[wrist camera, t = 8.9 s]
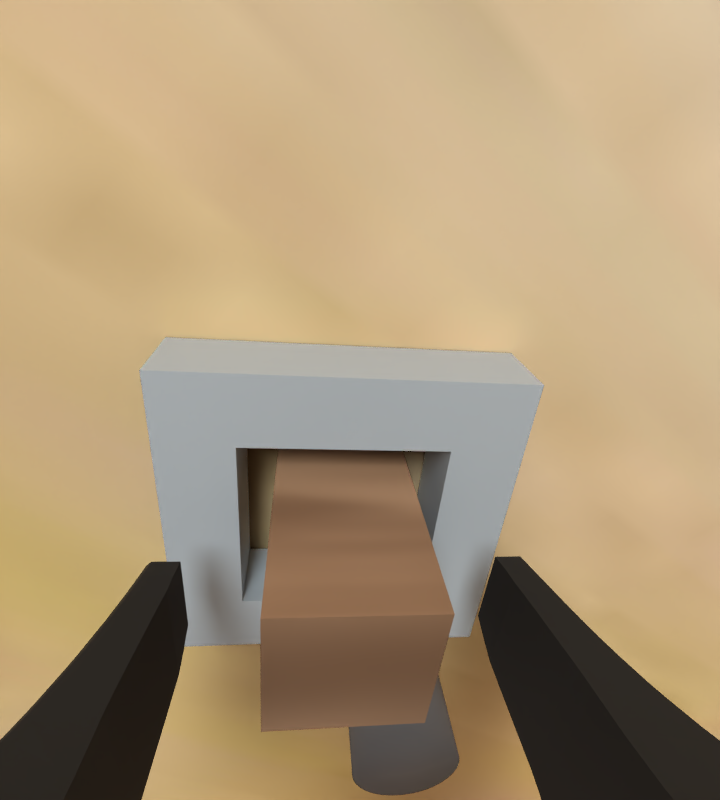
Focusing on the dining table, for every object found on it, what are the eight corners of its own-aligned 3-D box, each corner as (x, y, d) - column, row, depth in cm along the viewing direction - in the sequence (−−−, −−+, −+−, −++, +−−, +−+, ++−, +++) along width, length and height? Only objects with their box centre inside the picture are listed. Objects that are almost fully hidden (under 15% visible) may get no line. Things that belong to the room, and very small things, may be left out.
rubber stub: (423, 673, 19) (449, 790, 16) (340, 678, 19) (348, 798, 15) (435, 618, 18) (468, 734, 14) (346, 621, 17) (356, 741, 14)
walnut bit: (384, 524, 15) (424, 722, 10) (278, 524, 15) (260, 731, 9) (397, 435, 14) (454, 614, 8) (279, 432, 13) (260, 618, 8)
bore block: (452, 585, 17) (469, 636, 15) (193, 591, 16) (178, 646, 14) (511, 352, 13) (543, 385, 11) (165, 337, 11) (139, 370, 10)
